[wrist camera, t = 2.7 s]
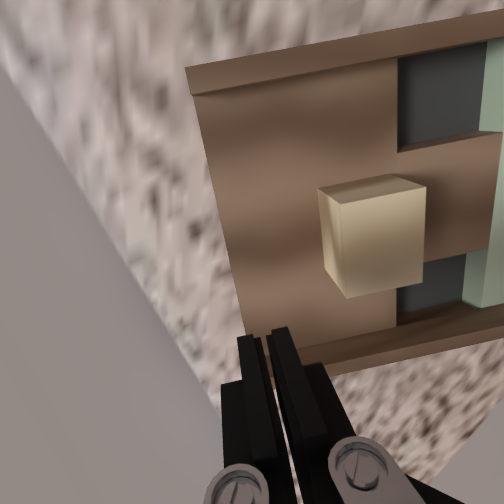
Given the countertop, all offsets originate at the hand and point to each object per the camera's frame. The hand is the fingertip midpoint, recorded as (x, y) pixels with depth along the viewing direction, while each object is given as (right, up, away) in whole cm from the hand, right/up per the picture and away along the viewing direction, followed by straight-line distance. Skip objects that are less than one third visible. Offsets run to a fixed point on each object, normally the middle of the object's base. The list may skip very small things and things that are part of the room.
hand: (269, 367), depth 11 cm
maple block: (+5, +5, +8) cm, 11 cm away
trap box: (+9, +7, +10) cm, 15 cm away
